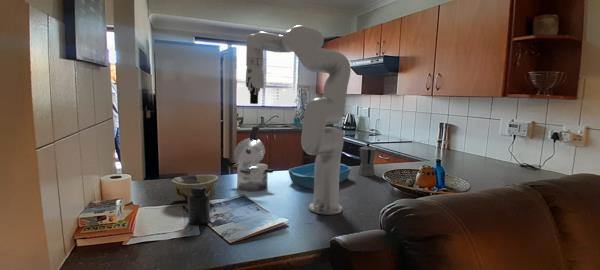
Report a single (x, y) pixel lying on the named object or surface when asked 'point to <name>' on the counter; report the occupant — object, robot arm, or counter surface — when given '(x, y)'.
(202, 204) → the supplement bottle
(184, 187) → the bowl
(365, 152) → the coffeepot
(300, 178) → the casserole dish
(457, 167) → the counter surface
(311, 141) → the robot arm
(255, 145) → the lid
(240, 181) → the pot
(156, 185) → the counter surface
